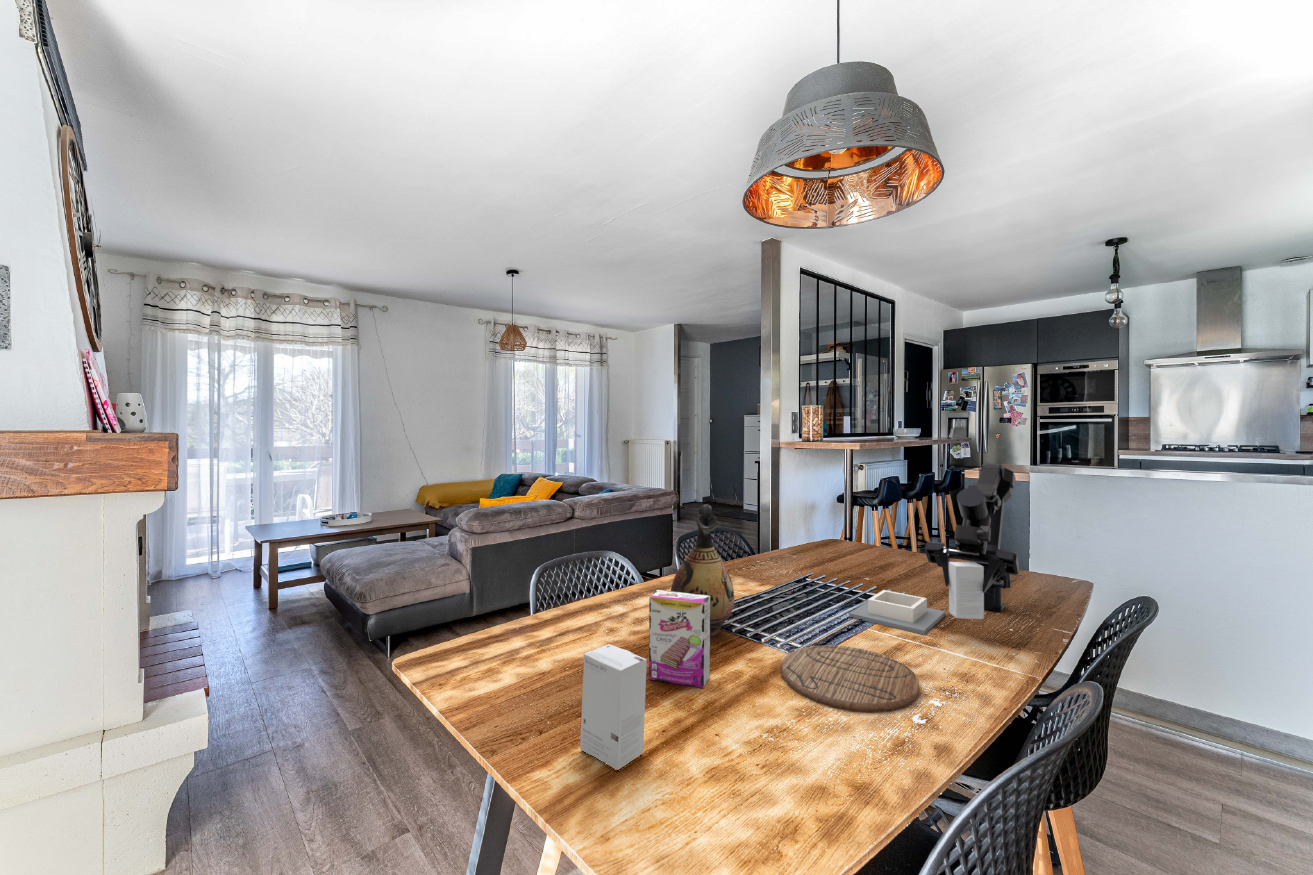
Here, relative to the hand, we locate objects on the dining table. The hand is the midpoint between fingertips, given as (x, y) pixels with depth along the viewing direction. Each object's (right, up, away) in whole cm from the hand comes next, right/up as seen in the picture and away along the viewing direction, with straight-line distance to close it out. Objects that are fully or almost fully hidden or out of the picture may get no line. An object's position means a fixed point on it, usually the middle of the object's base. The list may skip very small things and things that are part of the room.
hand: (964, 588), depth 123 cm
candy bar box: (-65, -13, -18) cm, 69 cm away
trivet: (-33, -13, -18) cm, 40 cm away
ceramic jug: (-59, -12, +8) cm, 61 cm away
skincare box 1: (-76, -13, -42) cm, 88 cm away
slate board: (-8, -12, +17) cm, 22 cm away
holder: (-8, -12, +17) cm, 22 cm away
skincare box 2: (+1, -7, +1) cm, 7 cm away
